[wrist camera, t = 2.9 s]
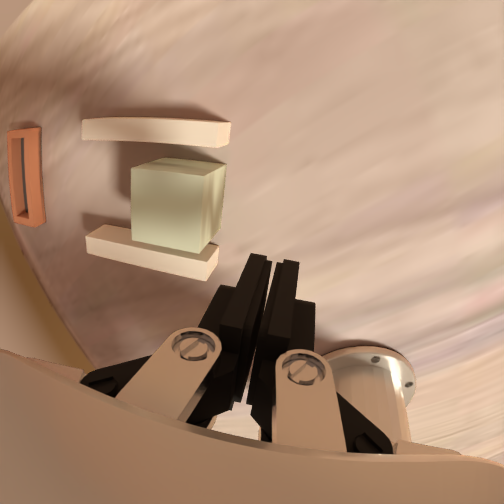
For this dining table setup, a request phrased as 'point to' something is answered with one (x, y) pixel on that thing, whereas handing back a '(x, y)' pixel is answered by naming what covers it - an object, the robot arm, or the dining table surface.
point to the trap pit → (26, 176)
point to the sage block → (177, 202)
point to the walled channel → (120, 239)
